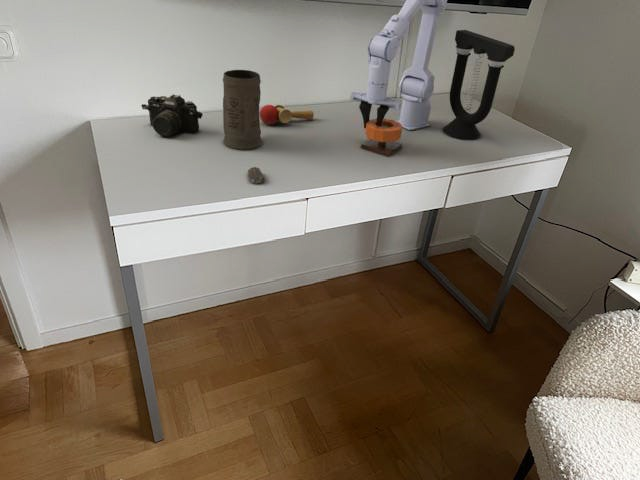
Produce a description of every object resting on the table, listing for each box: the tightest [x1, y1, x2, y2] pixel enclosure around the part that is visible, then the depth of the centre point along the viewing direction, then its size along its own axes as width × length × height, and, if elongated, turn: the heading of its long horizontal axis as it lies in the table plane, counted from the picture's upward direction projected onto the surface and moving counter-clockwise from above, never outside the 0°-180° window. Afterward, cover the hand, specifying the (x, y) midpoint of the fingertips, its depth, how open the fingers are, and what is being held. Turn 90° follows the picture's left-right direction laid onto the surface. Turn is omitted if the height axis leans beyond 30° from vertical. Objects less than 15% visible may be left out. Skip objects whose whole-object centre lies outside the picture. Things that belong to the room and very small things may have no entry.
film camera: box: [140, 93, 203, 138], centre depth 143 cm, size 18×12×10 cm
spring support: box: [442, 29, 516, 141], centre depth 154 cm, size 21×12×30 cm, turn 29°
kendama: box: [259, 104, 314, 126], centre depth 158 cm, size 8×6×18 cm
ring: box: [364, 117, 403, 142], centre depth 144 cm, size 10×10×3 cm
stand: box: [360, 125, 403, 157], centre depth 146 cm, size 9×9×6 cm
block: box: [247, 166, 266, 185], centre depth 124 cm, size 4×6×2 cm, turn 20°
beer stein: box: [222, 69, 262, 151], centre depth 139 cm, size 15×11×20 cm
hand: (371, 128), depth 146 cm, fingers closed on ring, 3 cm apart
